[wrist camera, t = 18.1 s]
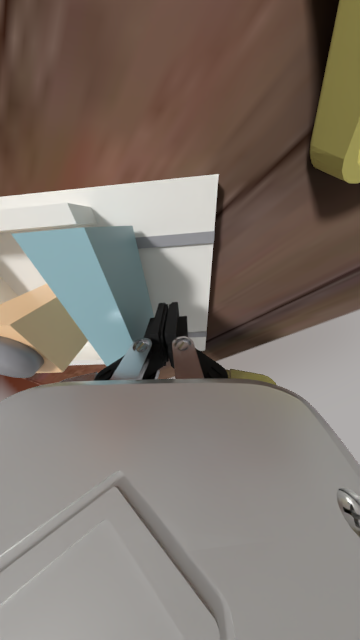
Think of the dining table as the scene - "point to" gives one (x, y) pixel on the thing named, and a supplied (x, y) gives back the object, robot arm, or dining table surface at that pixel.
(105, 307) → the light blue rectangular block
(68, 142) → the dining table surface
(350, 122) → the plastic component
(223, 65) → the dining table surface
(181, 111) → the dining table surface
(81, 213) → the housing
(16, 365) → the block
